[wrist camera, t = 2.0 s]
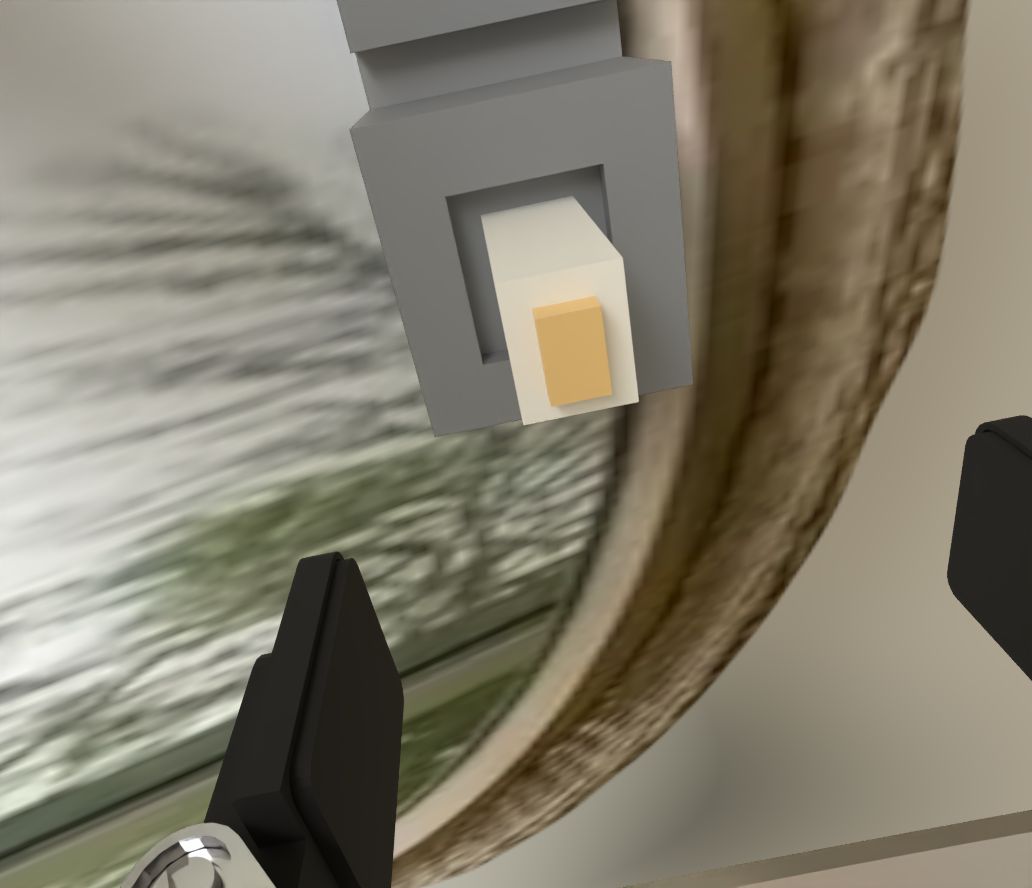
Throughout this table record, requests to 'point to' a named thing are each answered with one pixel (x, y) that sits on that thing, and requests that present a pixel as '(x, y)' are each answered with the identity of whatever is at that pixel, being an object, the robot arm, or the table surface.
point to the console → (513, 176)
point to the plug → (561, 310)
